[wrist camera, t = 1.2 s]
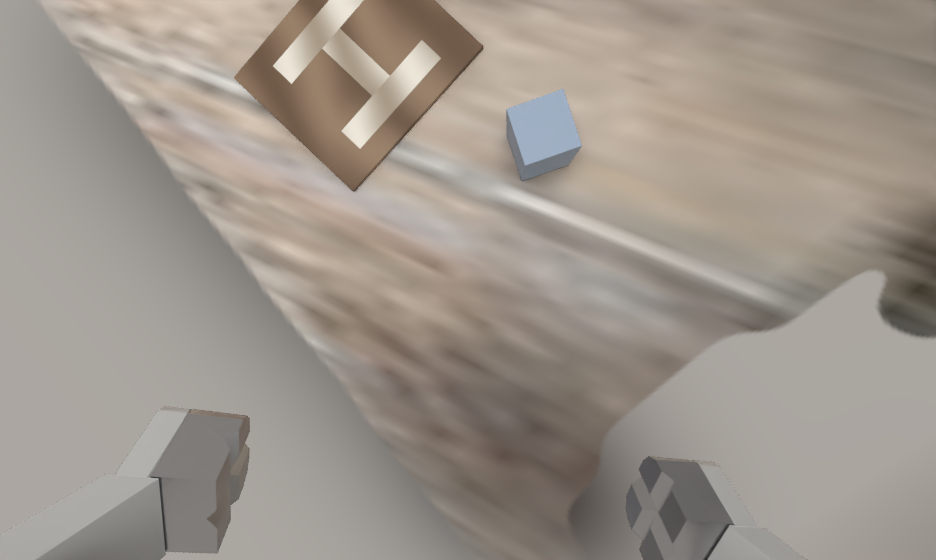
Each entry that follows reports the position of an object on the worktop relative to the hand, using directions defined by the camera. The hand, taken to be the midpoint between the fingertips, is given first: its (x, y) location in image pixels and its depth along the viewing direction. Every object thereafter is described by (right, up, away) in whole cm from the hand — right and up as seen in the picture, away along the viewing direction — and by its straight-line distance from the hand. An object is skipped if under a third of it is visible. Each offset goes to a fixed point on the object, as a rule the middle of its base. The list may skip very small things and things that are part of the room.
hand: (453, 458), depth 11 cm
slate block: (+6, +14, +32) cm, 36 cm away
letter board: (-9, +22, +33) cm, 40 cm away
